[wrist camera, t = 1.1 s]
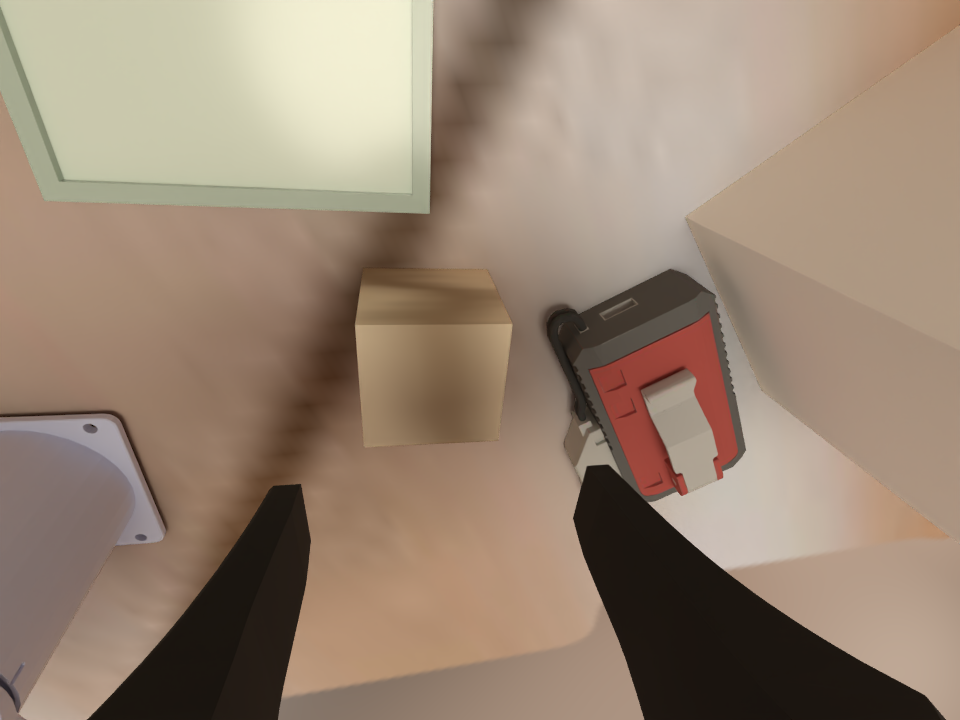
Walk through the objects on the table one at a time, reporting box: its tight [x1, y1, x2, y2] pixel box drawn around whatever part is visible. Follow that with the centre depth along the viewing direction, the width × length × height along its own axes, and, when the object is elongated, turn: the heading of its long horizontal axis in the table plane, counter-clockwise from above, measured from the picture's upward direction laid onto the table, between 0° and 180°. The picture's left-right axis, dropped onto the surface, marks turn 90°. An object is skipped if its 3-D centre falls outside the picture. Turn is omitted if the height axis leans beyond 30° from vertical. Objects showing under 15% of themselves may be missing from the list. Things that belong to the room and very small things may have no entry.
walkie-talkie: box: [547, 269, 746, 502], centre depth 24 cm, size 9×4×20 cm
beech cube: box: [355, 268, 513, 447], centre depth 18 cm, size 5×5×5 cm
